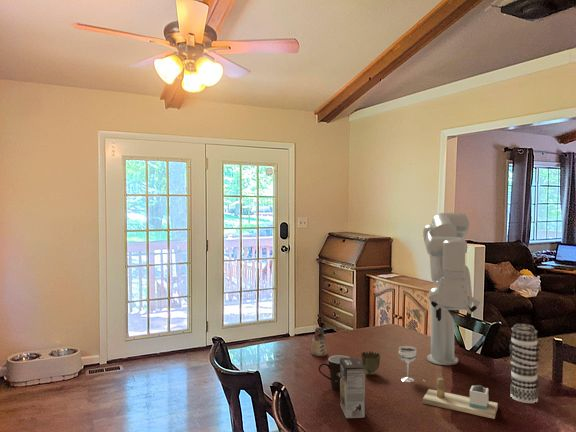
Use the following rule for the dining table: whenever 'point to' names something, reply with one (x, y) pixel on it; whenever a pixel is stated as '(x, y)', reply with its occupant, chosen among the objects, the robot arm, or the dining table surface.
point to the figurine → (319, 343)
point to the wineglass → (407, 358)
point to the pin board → (457, 401)
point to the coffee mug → (334, 370)
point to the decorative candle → (524, 363)
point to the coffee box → (352, 387)
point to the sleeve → (479, 398)
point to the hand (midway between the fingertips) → (453, 321)
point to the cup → (370, 362)
